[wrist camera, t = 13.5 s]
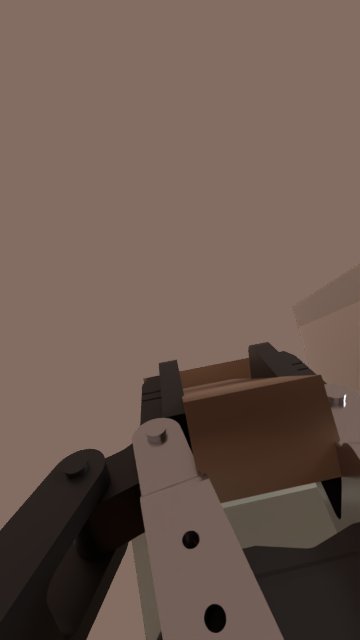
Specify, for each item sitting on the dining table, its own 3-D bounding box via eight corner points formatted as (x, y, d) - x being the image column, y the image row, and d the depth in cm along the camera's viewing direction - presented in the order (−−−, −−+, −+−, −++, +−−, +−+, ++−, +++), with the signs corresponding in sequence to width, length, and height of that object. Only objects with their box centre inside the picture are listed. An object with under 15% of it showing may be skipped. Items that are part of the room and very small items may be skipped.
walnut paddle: (444, 453, 6) (393, 312, 6) (101, 529, 6) (82, 373, 6) (244, 399, 23) (236, 363, 24) (160, 417, 23) (153, 379, 24)
